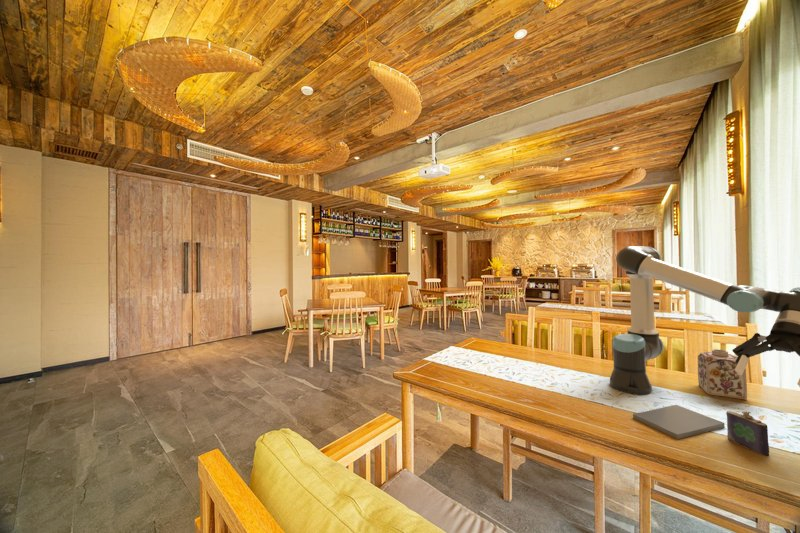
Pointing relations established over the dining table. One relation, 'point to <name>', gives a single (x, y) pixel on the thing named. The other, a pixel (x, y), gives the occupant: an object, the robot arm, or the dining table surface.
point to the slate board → (678, 421)
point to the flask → (748, 432)
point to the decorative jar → (721, 375)
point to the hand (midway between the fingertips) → (767, 379)
